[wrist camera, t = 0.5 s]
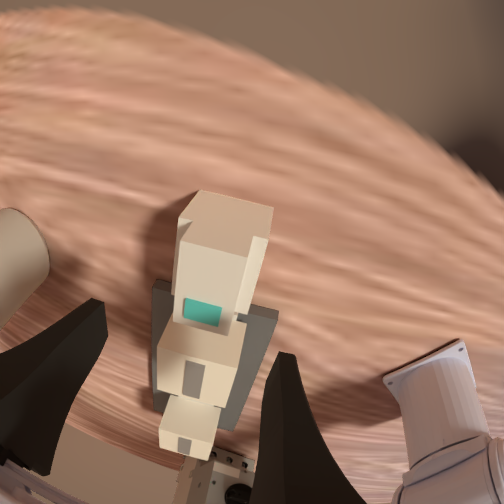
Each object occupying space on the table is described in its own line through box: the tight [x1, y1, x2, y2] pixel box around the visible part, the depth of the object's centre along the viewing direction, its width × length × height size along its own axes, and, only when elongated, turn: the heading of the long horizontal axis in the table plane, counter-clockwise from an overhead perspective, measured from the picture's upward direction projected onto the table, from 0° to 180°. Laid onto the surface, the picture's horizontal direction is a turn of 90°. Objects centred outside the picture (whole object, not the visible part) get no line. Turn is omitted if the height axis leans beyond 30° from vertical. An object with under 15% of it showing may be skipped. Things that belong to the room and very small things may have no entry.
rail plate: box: [152, 279, 279, 461], centre depth 25 cm, size 18×9×6 cm, turn 168°
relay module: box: [171, 190, 274, 336], centre depth 18 cm, size 5×4×6 cm
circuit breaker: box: [172, 446, 255, 504], centre depth 31 cm, size 8×14×15 cm, turn 149°
